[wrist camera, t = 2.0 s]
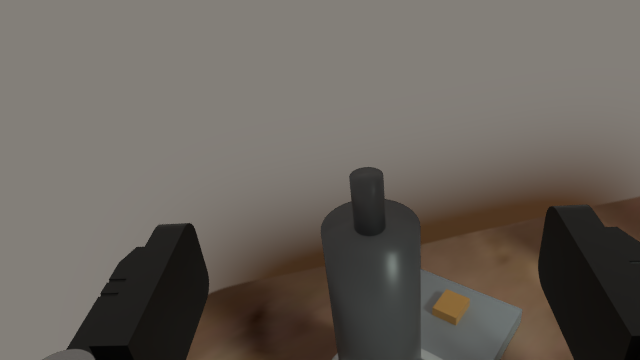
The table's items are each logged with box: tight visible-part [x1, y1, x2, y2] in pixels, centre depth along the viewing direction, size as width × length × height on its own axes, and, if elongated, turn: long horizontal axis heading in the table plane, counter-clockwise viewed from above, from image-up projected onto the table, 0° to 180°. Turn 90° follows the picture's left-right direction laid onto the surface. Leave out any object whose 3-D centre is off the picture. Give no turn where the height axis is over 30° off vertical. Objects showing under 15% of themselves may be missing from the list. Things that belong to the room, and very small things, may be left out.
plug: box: [321, 167, 421, 360], centre depth 28 cm, size 5×5×18 cm
